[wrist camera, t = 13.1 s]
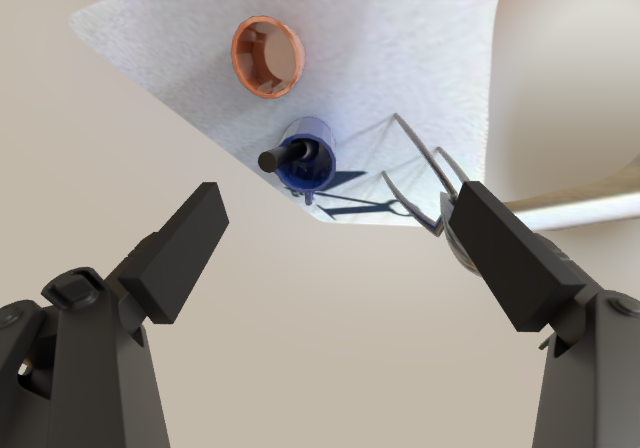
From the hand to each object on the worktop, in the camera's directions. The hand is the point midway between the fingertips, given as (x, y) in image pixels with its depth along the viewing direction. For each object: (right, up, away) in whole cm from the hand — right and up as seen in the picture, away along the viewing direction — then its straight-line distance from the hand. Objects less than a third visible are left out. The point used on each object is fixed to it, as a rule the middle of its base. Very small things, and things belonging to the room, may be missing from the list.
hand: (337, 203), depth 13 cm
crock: (-7, +24, +23) cm, 34 cm away
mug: (-3, +12, +32) cm, 34 cm away
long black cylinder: (-3, +13, +30) cm, 33 cm away
